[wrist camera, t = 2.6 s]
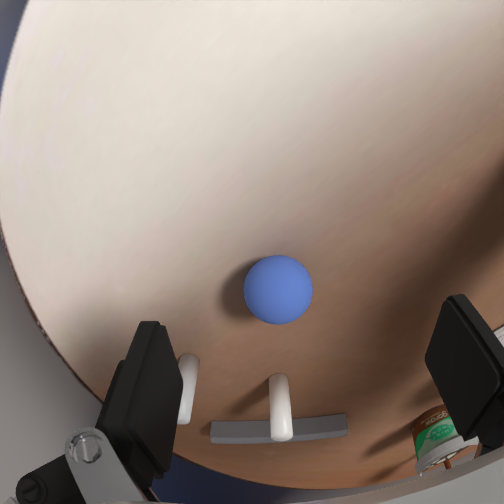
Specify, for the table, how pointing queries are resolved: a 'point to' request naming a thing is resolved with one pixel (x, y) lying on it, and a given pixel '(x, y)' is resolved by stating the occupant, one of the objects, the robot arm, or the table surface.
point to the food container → (436, 438)
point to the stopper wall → (262, 430)
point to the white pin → (280, 408)
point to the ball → (278, 289)
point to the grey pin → (187, 385)
